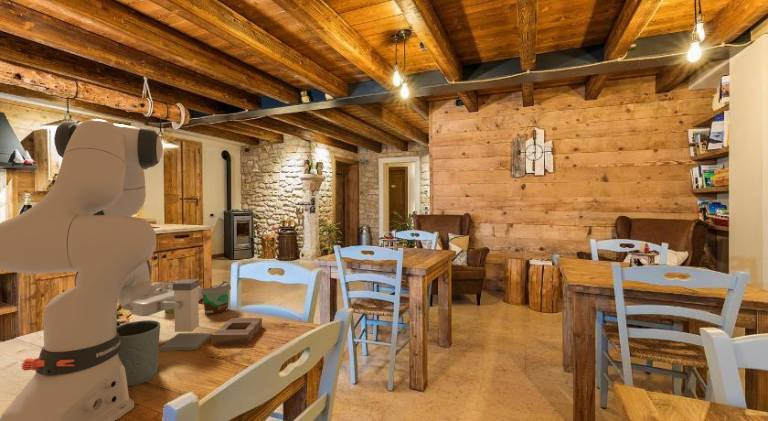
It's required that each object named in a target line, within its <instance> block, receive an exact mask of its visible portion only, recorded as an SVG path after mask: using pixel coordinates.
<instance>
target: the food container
mask: <svg viewBox="0 0 768 421" xmlns="http://www.w3.org/2000/svg"><path fill="white" fill-rule="evenodd" d="M231 289H232V286H231V284H230V282H229V281H226V280H222V282H221V283H220V284H217V285H216V284H215V285H212V286H211V287H208V288H207V287H204V288H203V287H202V289H201V295H202V297H203V308H204V315H205V316H213V315H219V314H224V313H227V311H226V309H228V310H229V299H230V298H229V294H230V290H231Z"/></svg>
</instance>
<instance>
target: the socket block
mask: <svg viewBox="0 0 768 421" xmlns="http://www.w3.org/2000/svg"><path fill="white" fill-rule="evenodd" d="M262 328H263V318H262V317H249V318H247V317H246V318H245V317H243V318H241V317H240V318H238V317H237V318H233V317H232V318H230V319H228V320H227V321H226V322H225V323H223V325H222V326H220V327H219V328H218V330H216V331H215V332H214V333H212V337H211V339H212V346H242V345H243V346H244V345H245V346H246V345H247V346H248V345H249V344H250V342H251V341H252V340H253V339H254V338H255V337H256V335H257V334H258V333H259V332H260V330H261V329H262Z"/></svg>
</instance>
